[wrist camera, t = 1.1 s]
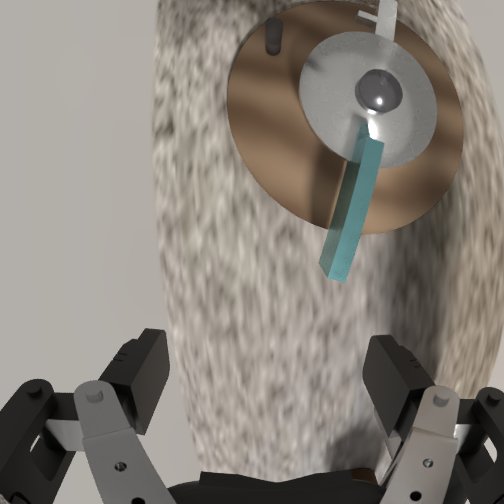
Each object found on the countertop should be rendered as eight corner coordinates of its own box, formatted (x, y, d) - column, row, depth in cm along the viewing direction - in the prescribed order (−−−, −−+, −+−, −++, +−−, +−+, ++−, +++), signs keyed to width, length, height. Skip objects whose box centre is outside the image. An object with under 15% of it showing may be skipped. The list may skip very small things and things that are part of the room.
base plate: (262, -15, 25) (261, -50, 18) (464, 61, 26) (496, 46, 18) (201, 195, 32) (183, 201, 25) (428, 258, 32) (460, 277, 25)
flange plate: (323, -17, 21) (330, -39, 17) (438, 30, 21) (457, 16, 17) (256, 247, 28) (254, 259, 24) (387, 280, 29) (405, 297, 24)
